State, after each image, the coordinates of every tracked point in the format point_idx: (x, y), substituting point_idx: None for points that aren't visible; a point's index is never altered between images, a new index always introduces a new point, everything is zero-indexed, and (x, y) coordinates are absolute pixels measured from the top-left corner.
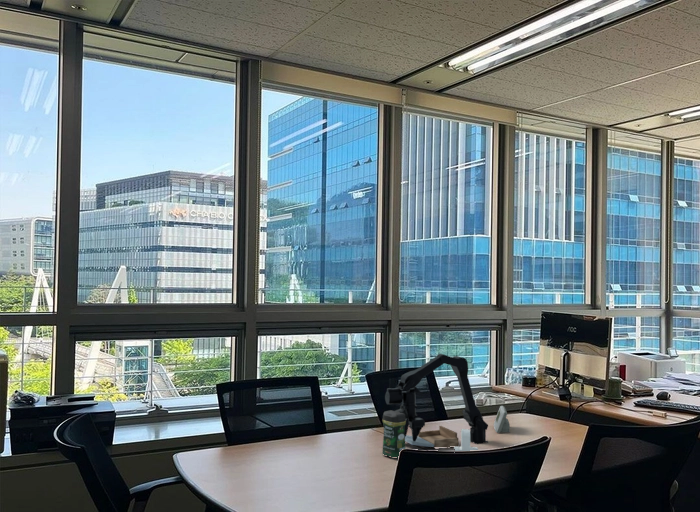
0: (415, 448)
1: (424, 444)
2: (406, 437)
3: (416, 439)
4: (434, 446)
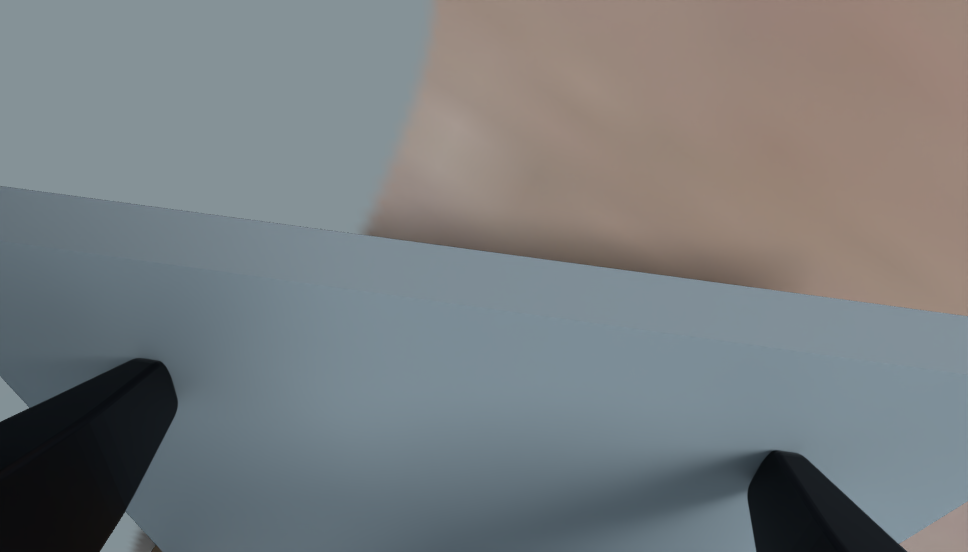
0: None
1: None
2: (603, 429)
3: (453, 520)
4: None
